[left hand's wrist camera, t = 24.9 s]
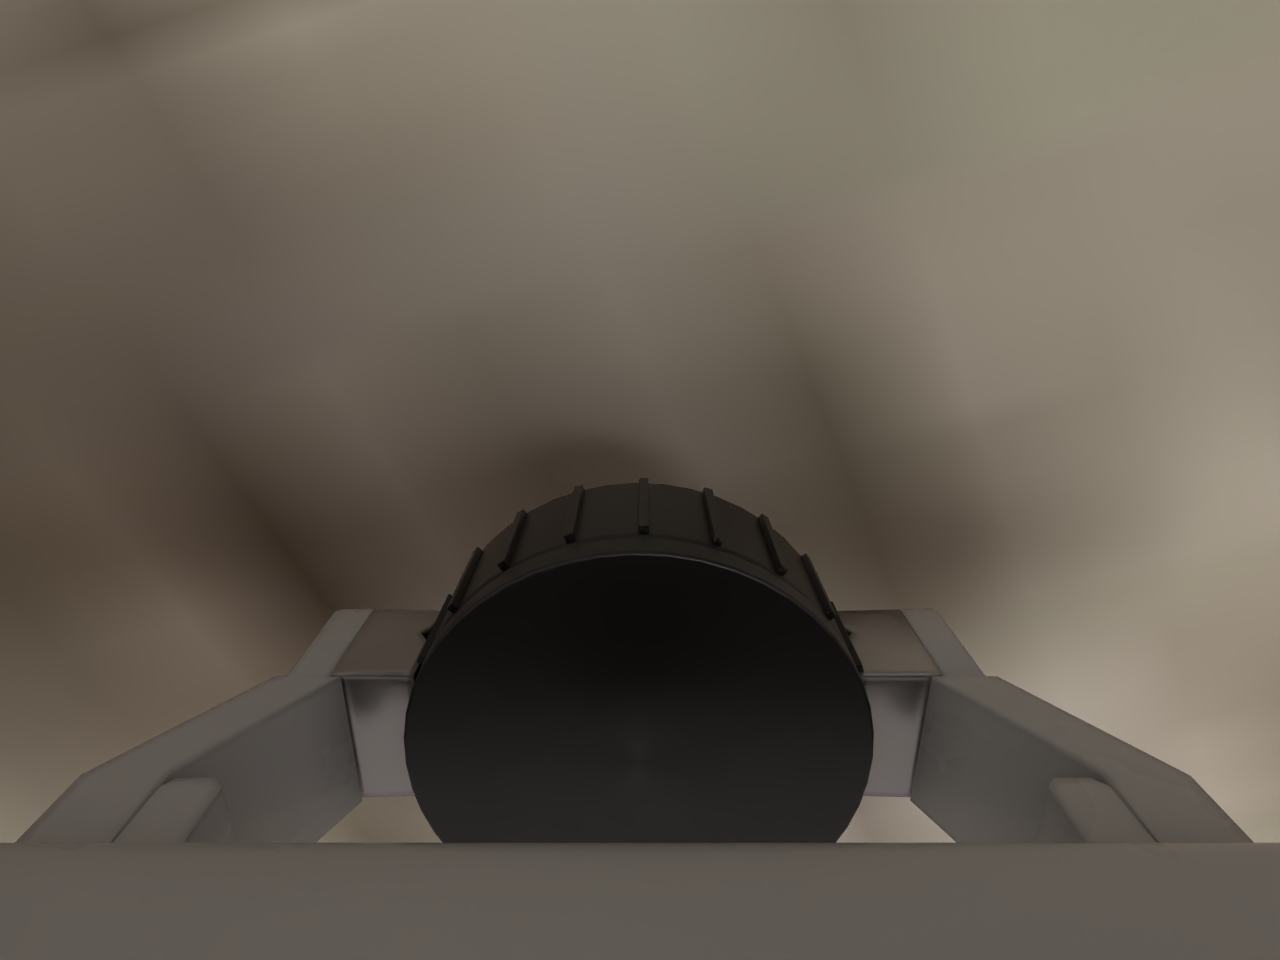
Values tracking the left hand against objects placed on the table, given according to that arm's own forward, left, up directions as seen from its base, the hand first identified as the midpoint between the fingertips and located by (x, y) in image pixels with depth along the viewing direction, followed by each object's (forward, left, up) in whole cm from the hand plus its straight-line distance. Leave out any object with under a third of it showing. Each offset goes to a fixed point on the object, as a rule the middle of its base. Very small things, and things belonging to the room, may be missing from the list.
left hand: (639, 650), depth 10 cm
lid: (0, 0, +2) cm, 2 cm away
